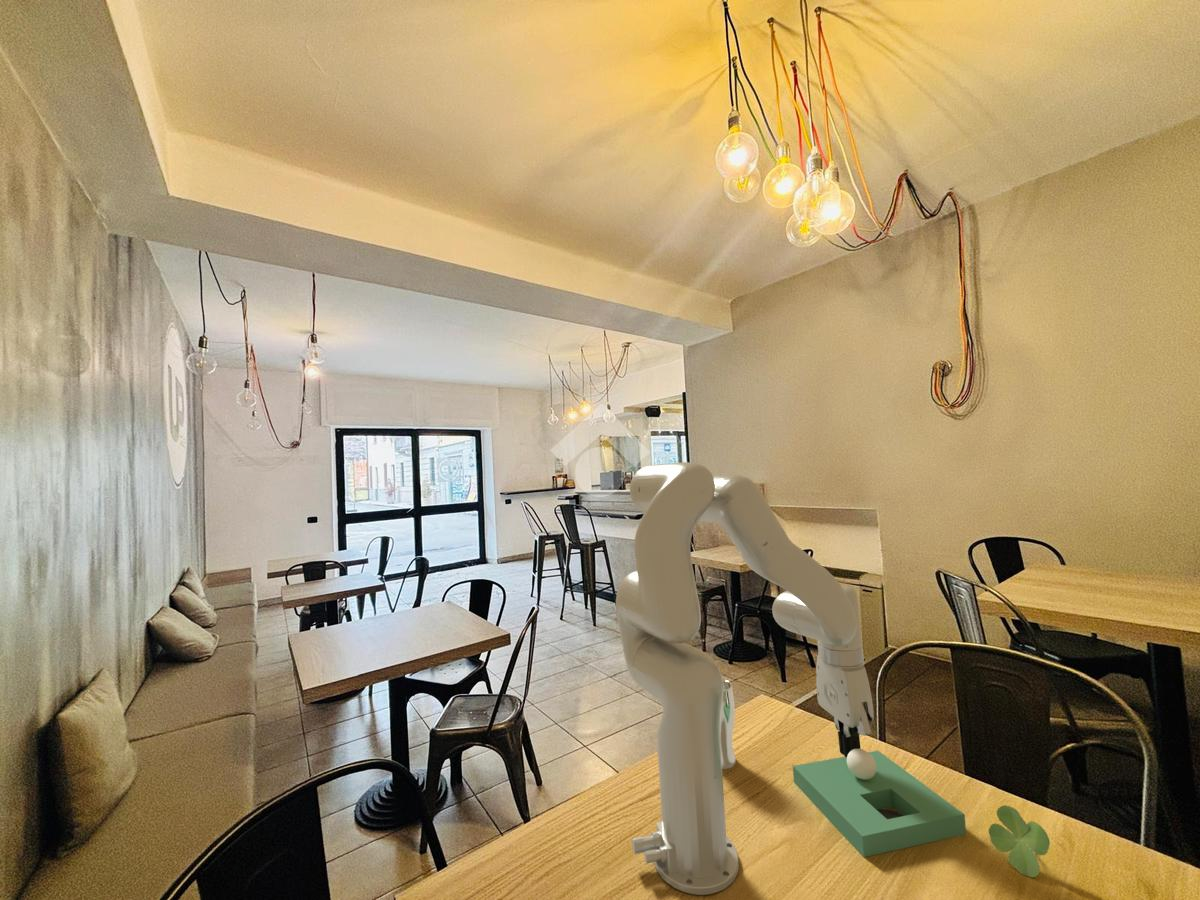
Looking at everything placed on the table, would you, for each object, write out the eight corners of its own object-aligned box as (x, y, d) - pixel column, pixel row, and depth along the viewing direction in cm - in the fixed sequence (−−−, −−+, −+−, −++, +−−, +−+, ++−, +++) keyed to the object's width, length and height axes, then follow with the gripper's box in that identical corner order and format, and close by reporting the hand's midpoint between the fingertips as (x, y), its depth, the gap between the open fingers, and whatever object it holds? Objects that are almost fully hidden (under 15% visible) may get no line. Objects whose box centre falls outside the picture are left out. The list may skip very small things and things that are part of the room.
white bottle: (710, 747, 102) (706, 674, 103) (743, 757, 98) (738, 681, 99) (696, 764, 97) (692, 687, 98) (730, 775, 93) (725, 695, 93)
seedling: (1010, 877, 72) (996, 870, 69) (993, 811, 77) (980, 802, 74) (1073, 887, 68) (1062, 882, 65) (1051, 817, 73) (1039, 808, 70)
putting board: (863, 857, 72) (862, 836, 72) (793, 782, 90) (792, 765, 90) (966, 834, 75) (964, 814, 75) (879, 766, 93) (878, 750, 93)
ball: (848, 782, 85) (858, 770, 82) (838, 754, 89) (848, 741, 86) (874, 786, 85) (885, 773, 82) (863, 758, 89) (874, 745, 86)
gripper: (798, 642, 97) (807, 736, 96) (850, 673, 82) (861, 783, 81) (831, 637, 98) (841, 729, 97) (889, 665, 83) (900, 774, 83)
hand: (850, 753), depth 89 cm, fingers closed
